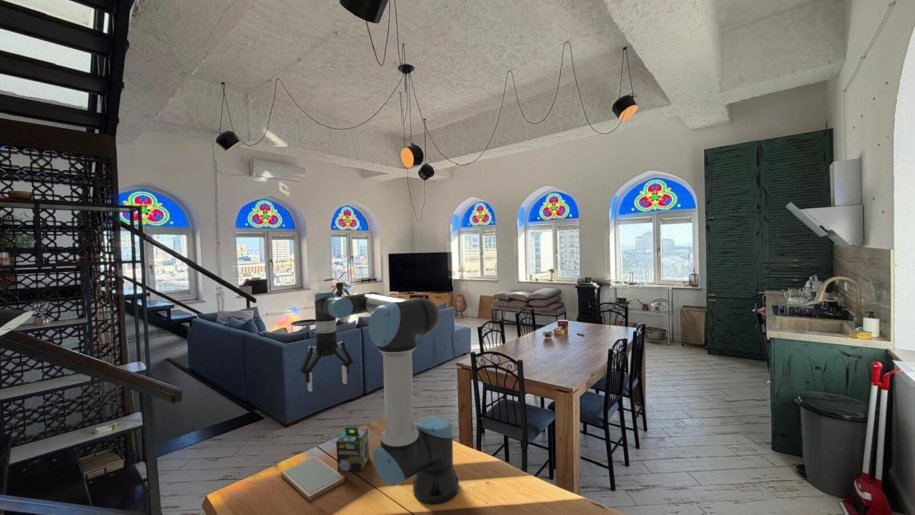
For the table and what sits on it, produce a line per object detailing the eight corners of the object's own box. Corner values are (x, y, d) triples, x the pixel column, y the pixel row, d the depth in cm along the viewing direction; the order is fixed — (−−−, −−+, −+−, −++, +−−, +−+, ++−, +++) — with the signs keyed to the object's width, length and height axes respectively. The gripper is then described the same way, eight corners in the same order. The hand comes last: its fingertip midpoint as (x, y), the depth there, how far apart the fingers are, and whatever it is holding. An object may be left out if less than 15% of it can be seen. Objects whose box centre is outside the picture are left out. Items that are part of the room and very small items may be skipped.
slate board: (344, 481, 134) (344, 476, 134) (309, 501, 124) (308, 496, 124) (315, 459, 147) (315, 455, 147) (281, 475, 137) (281, 471, 137)
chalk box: (369, 457, 148) (368, 420, 147) (361, 472, 138) (360, 432, 137) (346, 456, 148) (344, 419, 147) (336, 471, 139) (334, 431, 138)
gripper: (352, 327, 162) (354, 378, 161) (289, 335, 146) (291, 392, 145) (360, 328, 156) (362, 381, 155) (296, 336, 140) (297, 396, 139)
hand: (327, 386), depth 150 cm, fingers open, 13 cm apart
